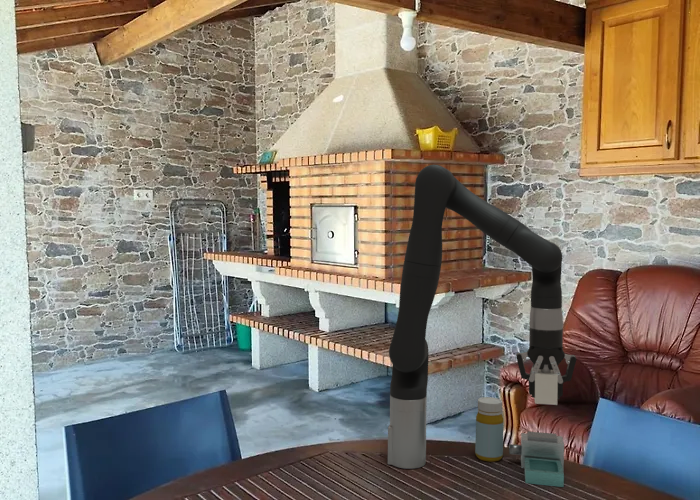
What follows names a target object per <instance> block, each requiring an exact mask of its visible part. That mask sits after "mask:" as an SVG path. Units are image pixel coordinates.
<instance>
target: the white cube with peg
mask: <svg viewBox="0 0 700 500" xmlns="http://www.w3.org/2000/svg"><path fill="white" fill-rule="evenodd" d="M534 380H535V398H534V397H533V399H534V404H535V405H537V404H538V405H554V406H558V399H557V392H558V375H557V374H555V373H554V370H549V368H548V365H544V368H543V369H539V370H538V373H535V379H534Z"/></svg>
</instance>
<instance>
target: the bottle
mask: <svg viewBox="0 0 700 500" xmlns="http://www.w3.org/2000/svg"><path fill="white" fill-rule="evenodd" d="M504 426H505V425H504V416H503V401H502V399H500V398H497V397H490V396H483V397H479V398H478V399H477V413H476V416H475V445H474V446H475V448H474V449H475V456H476V457H477V459H479V460H480V461H484V462H489V463H491V462H499V461H501V460H502V458H503V456H504Z"/></svg>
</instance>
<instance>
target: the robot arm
mask: <svg viewBox="0 0 700 500" xmlns="http://www.w3.org/2000/svg"><path fill="white" fill-rule="evenodd" d="M413 198H414V201H413V214H412V223H411V227H410V230H409V231H410V232H409V235H408V239H407V245H406V250H405V253H404V258H403V259H404V261H403V267H402V272H401V280H400V281H401V283H400V291H399V303H398V306H399V307H398V312H397V313H398V315H397V318H396V323H395V327H394V331H393V335H392V338H391V341H390V345H389V348H388V356H389V360H390V362H391V365H392V367H391V368H392V370H391V380H390V386H389V425H388V427H387V465H389V466H390V465H392V466H394V467H396V468H401V469H405V470H406V469H410V470H411V469H413V470H414V469H419V468H421V467H422V468H423V467H424V466H425V465H426V460H427V410H428V409H427V407H428V406H427V404H428V399H427V397H428V396H427V395H428V380H429V344H428V342H427V339H426V336H427V326H428V325H427V324H428V319H429V316H430V311H431V310H432V309H431V308H432V306H433V303H434V299H435V297H436V293H437V289H438V285H439V281H440V275H441V274H440V273H441V270H442V265H443V264H442V263H443V222H444V216H445V212H446V209H449V210H451V211H452V212H454V213H456V214H458V215H460V216H461V217H463V218H464V219H465V220H467V221H468V222H470V223H471V224H472V225H473V226H475V228H477V229H478V230H479V231H481V232H482V233H484V234H485V235H486V236H487V237H489V238H490V239H492V240H493V241H495V242H496V243H498V244H499V245H501V246H502V247H504V248H505V249H507V250H509V251H511V252H513V253H514V254H515V255H517V256H518V257H519V258H521V259H522V260H523V261H525V263H527V264H529V265H530V266H531V279H532V281H531V282H532V284H531V289H530V309H529V321H528V322H529V323H528V324H529V330H528V331H529V347H528V350H527V351H526V352H516V354H515V355H516V356H515V357H516V361H517V366H518V369H519V370H518V371H519V374H520V377H521V379H522V380H527V382H528V394H529V396H531V398H533V399H534V398H535V380H534V379H535V373H538V370H539V369H543V368H544V365H548V368H549V370H554V373H555V374H557V375H558V392H557V400H559V399H560V398H561V397H563V394H564V393H563V392H564V383H566V382H570V381H572V378H573V374H574V371H575V367H576V363H577V357H576V355H574V354H567V353H565V352H564V347H563V345H564V344H563V341H564V338H563V334H564V333H563V332H564V331H563V330H564V320H563V319H564V316H563V309H562V308H563V291H562V285H561V282H562V267H563V263H562V262H563V253H562V250H561V248H560V246H558V245H557V244H555V242H551V241H550V240H548V239H546V238H544V237H542V236H541V235H539V234H538V233H536V232H534V231H532V230H531V229H530V228H529V227H528V226H527V225H525V224H524V223H523V222H521V221H520V220H518V219H517V218H515V217H513V216H512V215H510V214H509V213H507V212H505V210H502V209H500V208H499V207H497V206H495V205H493V204H492V203H490V202H488V201H487V200H484V199H483V198H482V197H479V196H478V195H477V194H475V193H474V192H473V191H472V190H470V189H468V188H467V187H466V186H465V185H464V184H463V183H462V182H461V181H459V180H458V178H456V177H455V176H454V174H453V173H452V172H451V171H450V170H449V169H448V168H446V167H444V166H442V165H440V164H430V165H427V166H425V167H423V168H422V169H421V170H420V171H419V173H418V174H417V176H416V178H415V181H414V197H413ZM527 357H528V359H529V360H530V361H531V363H532V364H533V365H532V367H531V370H530V372H529V373H528V372H526V367H525V364H524V363H526V361H527ZM564 359H565V362H566V364H567V365H566V366H567V367H566V371H565V373H564V375H562V373H561V372H560V369H559V365H560V363H561V362H562V361H563V360H564Z"/></svg>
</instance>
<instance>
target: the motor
mask: <svg viewBox="0 0 700 500" xmlns="http://www.w3.org/2000/svg"><path fill="white" fill-rule="evenodd" d="M520 434H521V435H520V437H521V438H520V439H521V440H520V441H521V442H520V444H515V443H514V444H513V443H509V444H508V454H509V455H516V456H517V455H518V456H520V467H521V469H523V470H524V481H525V484H530V485H540V486H551V487H558V488H560V487H561V488H564V486H565V485H564V483H565V474H564V473H565V472H564V468H565V467H564V464H565V463H564V462H565V461H564V459H565V456H564V455H565V442H564V439H563V436H562V435H557V433H554V432H553V433H551V432H550V433H548V432H540V431H527V432H521V433H520Z"/></svg>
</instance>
